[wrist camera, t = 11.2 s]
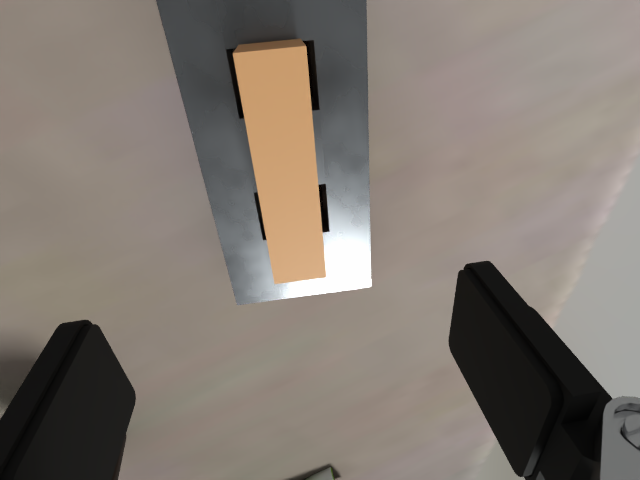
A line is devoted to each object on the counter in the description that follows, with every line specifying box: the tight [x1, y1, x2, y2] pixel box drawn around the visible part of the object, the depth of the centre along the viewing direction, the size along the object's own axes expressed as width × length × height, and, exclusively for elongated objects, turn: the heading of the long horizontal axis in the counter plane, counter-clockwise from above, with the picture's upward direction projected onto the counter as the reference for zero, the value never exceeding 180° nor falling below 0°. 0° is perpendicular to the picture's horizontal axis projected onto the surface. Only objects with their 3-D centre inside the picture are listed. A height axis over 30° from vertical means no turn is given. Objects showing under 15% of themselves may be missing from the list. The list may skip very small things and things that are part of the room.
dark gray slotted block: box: [156, 0, 371, 305], centre depth 24 cm, size 22×10×4 cm, turn 5°
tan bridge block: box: [233, 39, 326, 284], centre depth 22 cm, size 12×3×8 cm, turn 4°
